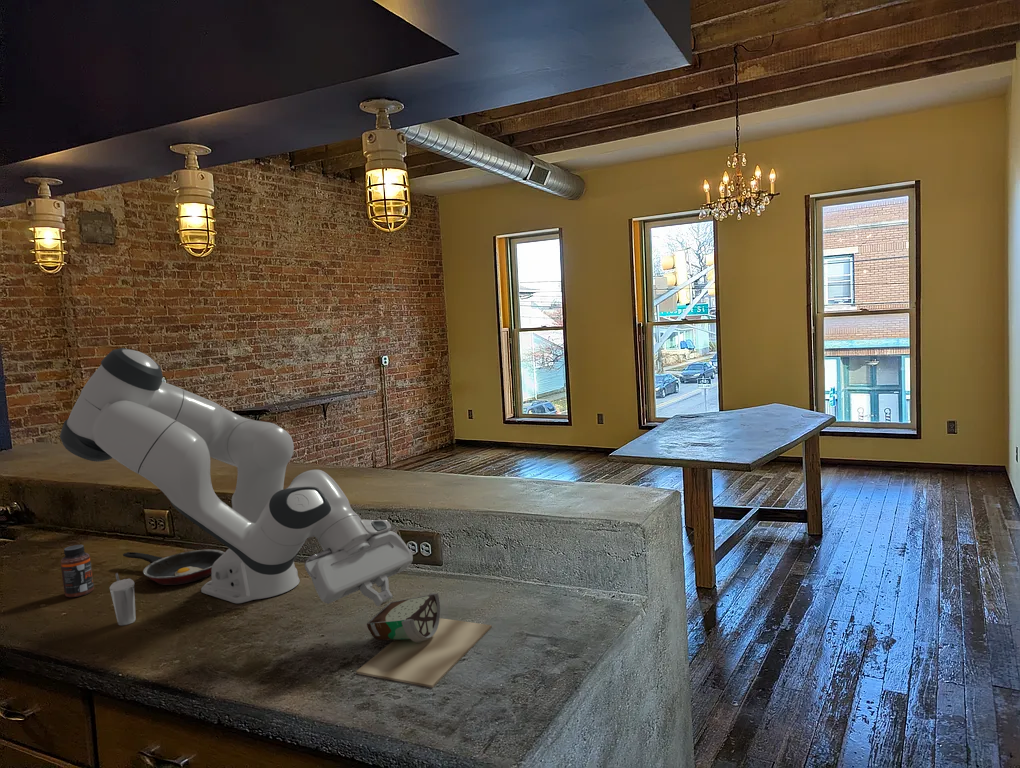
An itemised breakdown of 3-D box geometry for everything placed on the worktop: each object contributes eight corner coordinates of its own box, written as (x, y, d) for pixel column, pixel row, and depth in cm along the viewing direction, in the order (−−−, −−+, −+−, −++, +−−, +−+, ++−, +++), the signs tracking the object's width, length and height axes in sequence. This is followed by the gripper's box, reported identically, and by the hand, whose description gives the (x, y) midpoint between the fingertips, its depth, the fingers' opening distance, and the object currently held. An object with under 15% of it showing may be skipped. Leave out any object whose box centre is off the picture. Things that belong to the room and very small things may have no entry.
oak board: (356, 673, 116) (356, 671, 116) (423, 617, 136) (423, 615, 136) (432, 687, 110) (432, 685, 110) (491, 627, 130) (491, 625, 130)
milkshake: (134, 614, 148) (128, 569, 147) (142, 621, 144) (136, 575, 143) (110, 622, 145) (104, 576, 144) (118, 629, 141) (111, 582, 140)
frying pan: (181, 593, 158) (179, 578, 158) (92, 579, 172) (90, 565, 172) (244, 564, 175) (242, 550, 175) (158, 553, 189) (156, 540, 189)
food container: (371, 660, 123) (420, 654, 120) (362, 627, 123) (411, 620, 120) (401, 628, 135) (447, 622, 132) (393, 599, 134) (439, 592, 131)
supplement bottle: (93, 594, 161) (86, 548, 160) (63, 600, 159) (56, 553, 158) (95, 586, 167) (89, 541, 166) (67, 592, 164) (60, 546, 163)
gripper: (306, 549, 121) (345, 614, 116) (394, 518, 137) (432, 574, 132) (294, 569, 125) (332, 633, 119) (381, 536, 140) (418, 592, 135)
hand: (385, 602), depth 126 cm, fingers closed
